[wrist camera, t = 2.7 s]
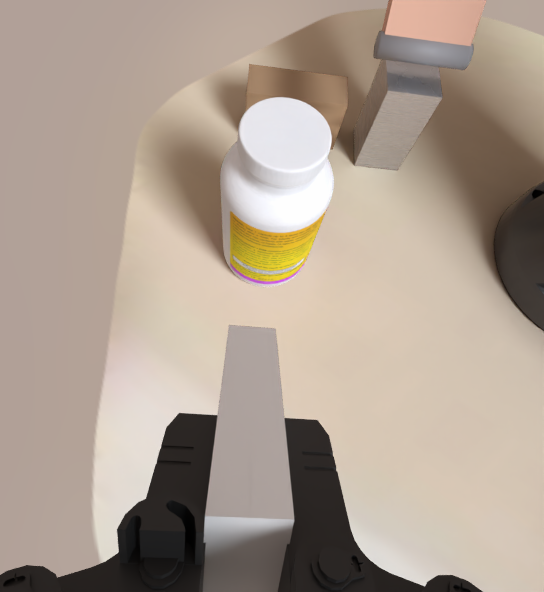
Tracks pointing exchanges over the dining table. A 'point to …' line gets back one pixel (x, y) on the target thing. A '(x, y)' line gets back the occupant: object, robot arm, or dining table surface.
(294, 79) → the brown rectangular block
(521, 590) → the dining table surface
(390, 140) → the post
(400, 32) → the flat salmon pink panel
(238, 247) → the supplement bottle
